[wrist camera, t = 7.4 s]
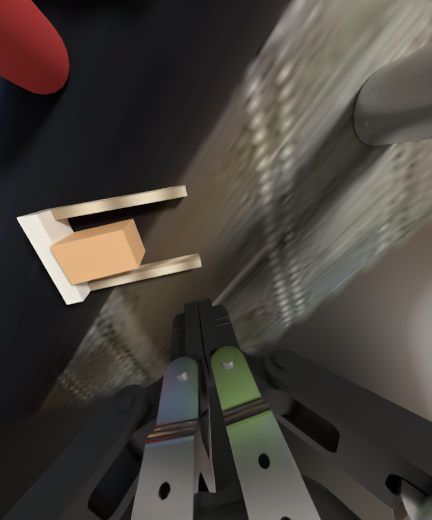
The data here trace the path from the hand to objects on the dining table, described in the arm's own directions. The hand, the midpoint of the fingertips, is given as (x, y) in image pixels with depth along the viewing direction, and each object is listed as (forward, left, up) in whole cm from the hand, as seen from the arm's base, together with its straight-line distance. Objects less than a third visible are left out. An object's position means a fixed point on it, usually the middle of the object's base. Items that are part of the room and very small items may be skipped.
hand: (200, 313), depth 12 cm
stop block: (+16, 0, -20) cm, 26 cm away
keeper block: (+11, 0, -20) cm, 23 cm away
